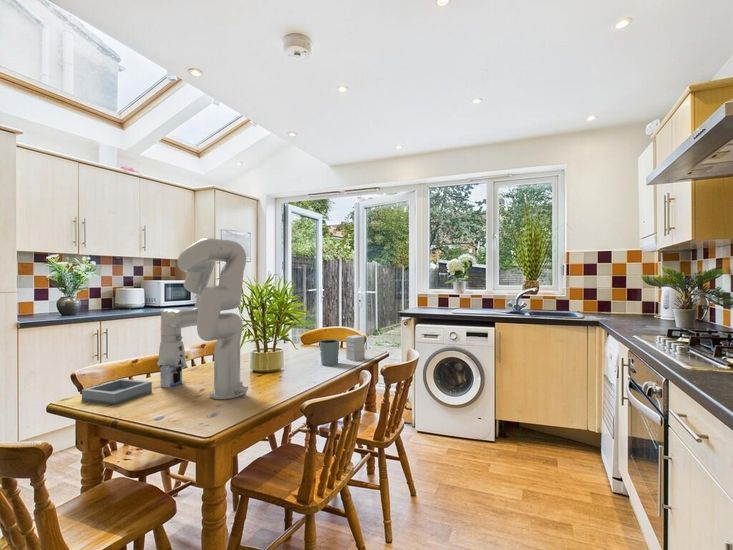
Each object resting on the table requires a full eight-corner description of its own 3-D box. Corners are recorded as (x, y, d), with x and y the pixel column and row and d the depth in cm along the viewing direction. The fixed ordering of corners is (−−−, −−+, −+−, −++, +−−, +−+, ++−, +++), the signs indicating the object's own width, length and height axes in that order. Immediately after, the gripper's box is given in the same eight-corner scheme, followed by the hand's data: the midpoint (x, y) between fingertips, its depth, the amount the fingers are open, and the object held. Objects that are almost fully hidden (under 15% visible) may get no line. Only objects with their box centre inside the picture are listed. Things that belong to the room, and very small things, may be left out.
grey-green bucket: (343, 363, 201) (343, 340, 201) (331, 367, 192) (331, 343, 192) (327, 361, 206) (327, 338, 206) (315, 365, 198) (315, 341, 198)
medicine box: (169, 388, 158) (169, 367, 158) (160, 387, 159) (160, 366, 159) (182, 382, 166) (182, 362, 166) (173, 382, 167) (173, 362, 167)
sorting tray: (151, 391, 153) (151, 381, 153) (114, 405, 138) (114, 393, 138) (121, 388, 158) (121, 378, 158) (81, 400, 143) (81, 389, 143)
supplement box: (356, 357, 216) (356, 334, 216) (364, 359, 210) (364, 336, 210) (345, 359, 211) (345, 336, 211) (354, 361, 206) (354, 337, 206)
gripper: (194, 337, 164) (194, 380, 164) (162, 336, 169) (162, 377, 169) (180, 340, 156) (181, 385, 157) (148, 338, 162) (148, 382, 162)
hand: (171, 381), depth 163 cm, fingers closed on medicine box, 4 cm apart
